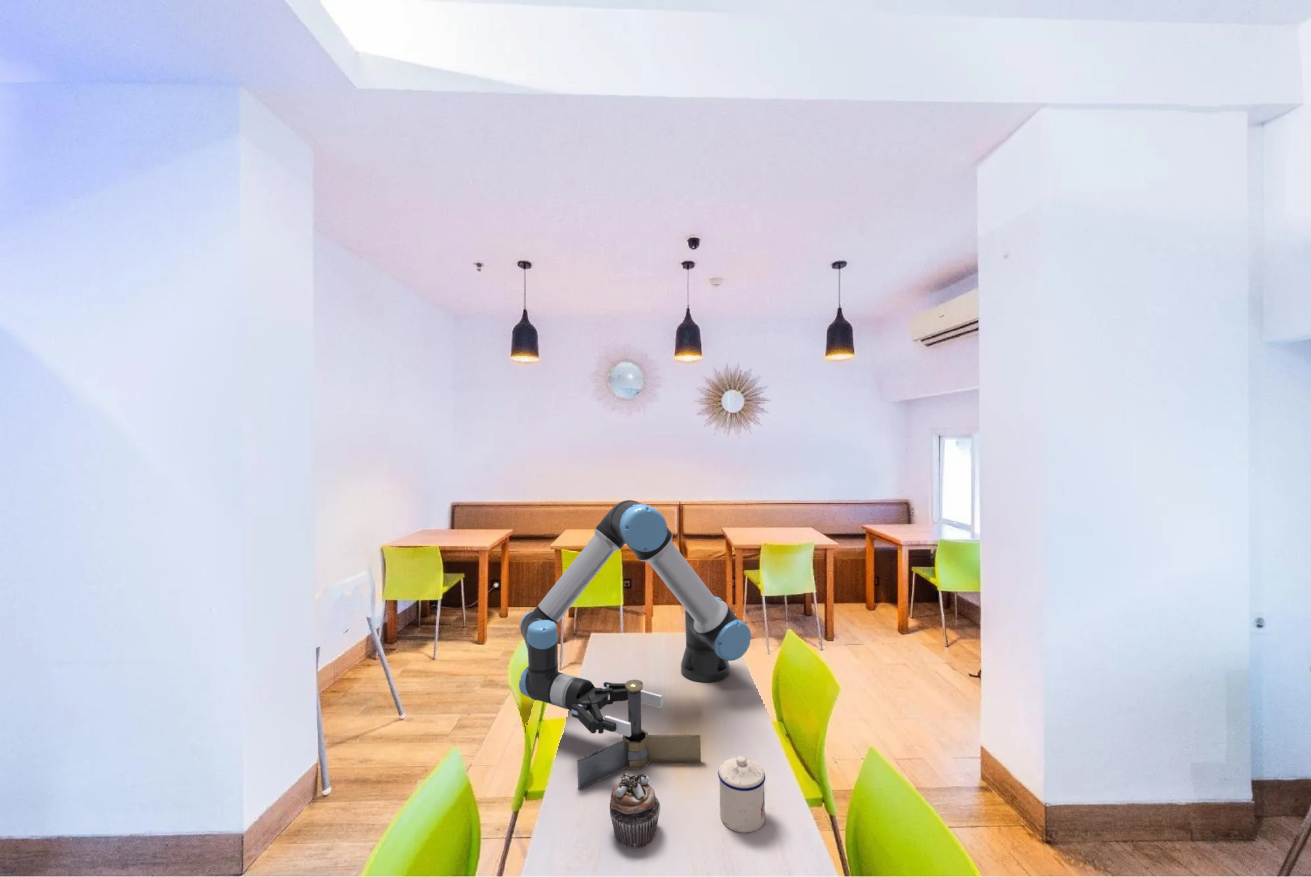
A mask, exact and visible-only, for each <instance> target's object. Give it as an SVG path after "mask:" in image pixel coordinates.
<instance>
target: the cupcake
mask: <svg viewBox="0 0 1311 877" xmlns="http://www.w3.org/2000/svg"><path fill="white" fill-rule="evenodd" d="M620 779H621V780H620V782H618V783H617V784H616V785H615V786H614V787H613V788H612V790H611V794H610V802H609V815H610V820H611V824H612V827H613V832H614V837H615V838H616V841H617V842H618V843H620V845H622V846H624V847H627V848H633V849H637V848H638V849H640V848H641V847H642V846H643V847H645V846H647V845H649V844H650V843H651V842H653V841H652V840H654V838H656V834H657V828H658V822H659V817H660V811H661V804H660V801H659V799H658V798H657V796H656V793H655V789H654V788H653V786H652V785H651V784H650V778H649V776H647V775H646V774H645V773H643V772H642V773H640V774H638V775H634V774H633V775H631V776H630V775H629V774H627V773H626V772H625V771H624V772H623V773H622V774H621V777H620Z"/></svg>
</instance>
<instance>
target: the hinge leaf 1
mask: <svg viewBox="0 0 1311 877" xmlns="http://www.w3.org/2000/svg"><path fill="white" fill-rule="evenodd" d="M642 740H643V739H642ZM647 756H648V747H647V748H645V749H643V750H642V751H640V752H635V751H628V750H626V741H625V739H624V740H622V739H621V740H620V741H617V742H615V743H613V744H611V745H609V746H605V747H604V748H602V749H600V750H597V751H595V752H593V753H591V754H588V755H586V756H584V757H581V758H580V759H577V762H576V763H577V768H576V769H577V788H578V789H579V790H582V789H584V788H586V787H588V786H590V785H592V784H594V783H596V782H598V781H600V780H602V779H605V778H606V777H609V776H611V775H613V774H615V773H617V772H620V771H622V770H623V769H625V768H626V769H627V762H626V759H628V760H637V761H639V760H641V759H643V758H645V757H647ZM581 788H582V789H581Z"/></svg>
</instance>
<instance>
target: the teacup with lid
mask: <svg viewBox="0 0 1311 877" xmlns="http://www.w3.org/2000/svg"><path fill="white" fill-rule="evenodd" d="M717 776H718V778H719V816H720V820H722V823H723V824H724V825H725V826H726V827H728V828H729V829H730V830H733V831H734V832H739V833H752V832H755V831H756V832H757V830H759V829H760V828H762V826H763V825H764V823H765V819H766V813H765V812H766V808H765V782H766V774H765V770H764V768H762V766H761V764H759V763H758V762H756V761H754V760H752V759H749V758H747V757H745V756H743V755H738V756H737V757H732V758H728V759H727V760H725V761H723V762H722V763H721V764H720V766H719V768H718V772H717Z"/></svg>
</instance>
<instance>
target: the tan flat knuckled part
mask: <svg viewBox="0 0 1311 877" xmlns="http://www.w3.org/2000/svg"><path fill="white" fill-rule="evenodd" d="M624 739H625V741H626V750H628V751H635V752H640V751H642V750H643V749H645V748H647V747H648V756H647V757H645V758H643V759H641V760H639V761H637V760H628V759H626V762H627V767H626V769H630V770H641V769H643V768H645V767H646V766H648V765H649V763H678V764H679V763H681V764H682V763H687V764H688V763H690V764H691V763H696V764H697V763H699V764H700V763H702V751H701V748H702V747H701V734H649V732H648V731H646V730H644V729H642V739H643V740H641V741H639V742H630V741H629V737H628V736H625V735H622V739H621V741H622V740H624Z"/></svg>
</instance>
